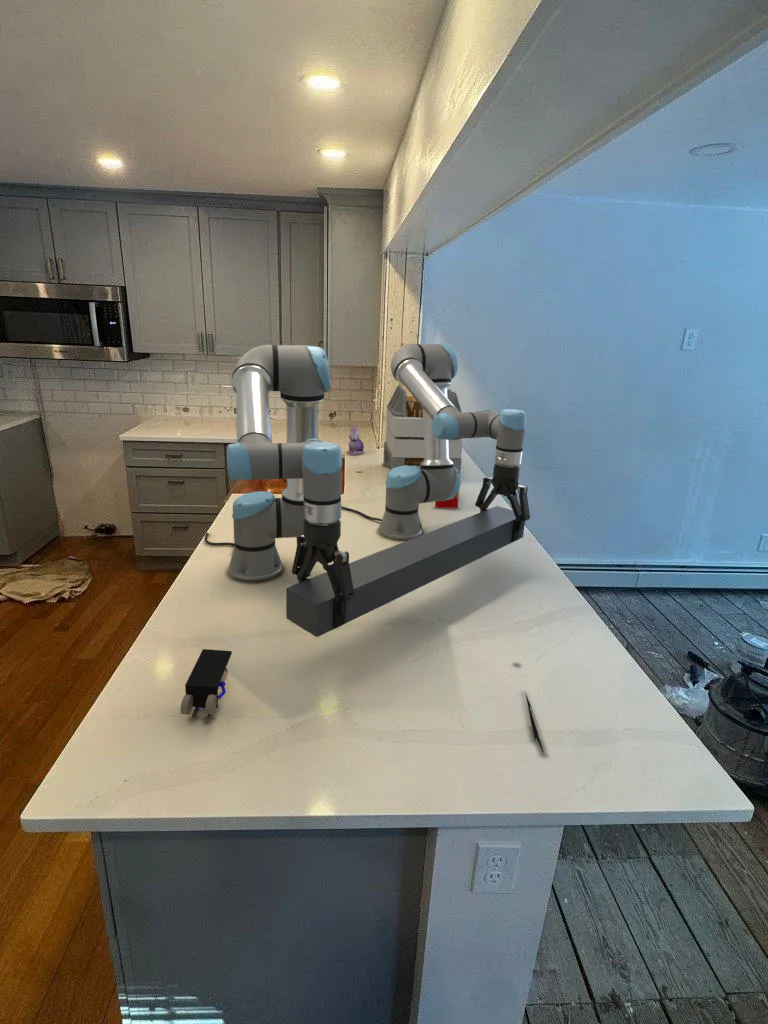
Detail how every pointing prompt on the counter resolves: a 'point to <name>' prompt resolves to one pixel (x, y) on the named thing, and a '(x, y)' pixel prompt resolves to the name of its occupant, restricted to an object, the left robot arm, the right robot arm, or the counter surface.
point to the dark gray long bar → (401, 569)
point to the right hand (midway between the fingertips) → (498, 535)
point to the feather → (534, 723)
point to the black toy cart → (206, 682)
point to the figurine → (355, 442)
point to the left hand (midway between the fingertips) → (321, 615)
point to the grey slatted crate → (412, 432)
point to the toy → (448, 503)
